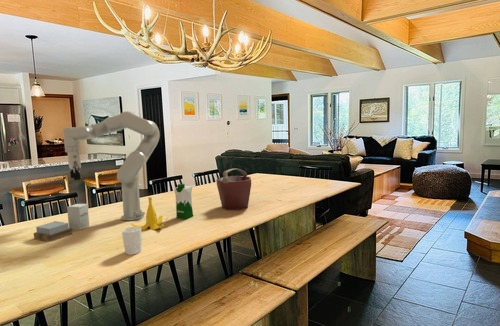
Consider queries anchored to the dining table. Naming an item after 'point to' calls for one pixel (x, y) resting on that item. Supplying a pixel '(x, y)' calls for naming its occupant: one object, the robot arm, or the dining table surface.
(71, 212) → the supplement box
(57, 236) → the tower base
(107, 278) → the dining table surface
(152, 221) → the banana peel
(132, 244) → the white cup
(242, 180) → the bucket
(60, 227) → the tower top
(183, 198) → the milk carton
